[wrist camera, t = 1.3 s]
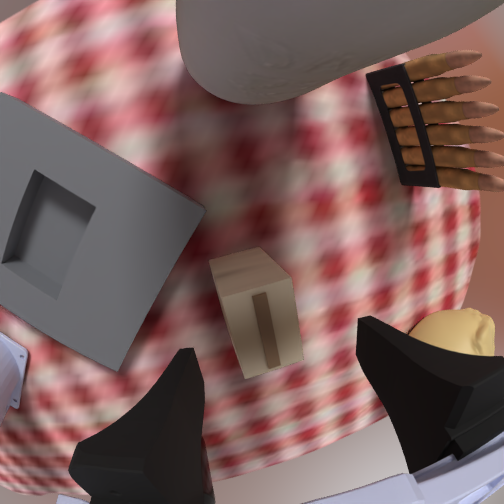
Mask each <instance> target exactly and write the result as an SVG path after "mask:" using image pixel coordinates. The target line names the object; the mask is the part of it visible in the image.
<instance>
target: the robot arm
mask: <svg viewBox="0 0 504 504" xmlns="http://www.w3.org/2000/svg"><path fill="white" fill-rule="evenodd" d="M23 356H24V357H23ZM356 356H357V358H358V361H359V363H360V366H361V368H362V370H363V372H364V374H365V376H366V377H367V379H368V381H369V382H370V384H371V385H372V387H373V389H374V390H375V392H376V394H377V395H378V397H379V399H380V400H381V402H382V403H383V405H384V407H385V409H386V411H387V413H388V415H389V417H390V419H391V422H392V424H393V426H394V429H395V431H396V434H397V436H398V439H399V442H400V444H401V447H402V450H403V453H404V456H405V459H406V463H407V466H408V470H409V474H404V473H401V474H398V475H394V476H391V477H388V478H385V479H383V480H380V481H377V482H374V483H371V484H368V485H365V486H362V487H359V488H356V489H353V490H349V491H346V492H342V493H339V494H335V495H331V496H327V497H324V498H319V499H315V500H312V501H309V502H305V503H302V504H479V503H481V502H482V501H484V500H485V499H486V498H488V497H489V496H490V495H492V494H493V493H494V492H496V491H497V490H498V489H499V488H501V487H502V486H503V485H504V358H503V356H480V355H471V354H465V353H459V352H455V351H450V350H446V349H443V348H440V347H437V346H434V345H431V344H428V343H425V342H423V341H420V340H418V339H416V338H414V337H411V336H409V335H407V334H405V333H403V332H401V331H399V330H397V329H395V328H393V327H392V326H390V325H388V324H386V323H384V322H382V321H380V320H378V319H376V318H374V317H372V316H366V317H362V318H358V326H357V344H356ZM27 359H28V351H27V349H25V348H24V347H22V346H21V345H19V344H18V343H16V342H15V341H13V340H12V339H10V338H9V337H7V336H6V335H4V334H3V333H1V332H0V425H1V423H2V421H3V419H4V417H5V415H6V413H7V411H8V409H9V407H10V406H12V407H14V408H16V409H18V408H19V405H20V398H21V391H22V385H23V379H24V374H25V369H26V364H27ZM204 404H205V392H204V380H203V377H202V374H201V371H200V367H199V364H198V361H197V358H196V354H195V351H194V348H193V347H192V348H184V349H179V351H178V352H177V353H176V355H175V356H174V358H173V359H172V361H171V362H170V364H169V365H168V367H167V368H166V370H165V371H164V372H163V374H162V375H161V376H160V378H159V379H158V380H157V382H156V383H155V384H154V385H153V387H152V388H151V389H150V390H149V392H148V393H147V394H146V395H145V396H144V397H143V398H142V399H141V400H140V401H139V402H138V403H137V404H136V405H135V406H134V407H133V408H132V409H131V410H129V411H128V412H127V413H126V414H125V415H123V416H122V417H121V418H120V419H118V420H117V421H116V422H114V423H113V424H111V425H110V426H108V427H107V428H105V429H104V430H102V431H100V432H99V433H97V434H95V435H93V436H91V437H89V438H87V439H85V440H83V441H81V442H79V443H78V444H77V446H76V449H75V451H74V454H73V457H72V460H71V463H70V465H69V469H68V471H69V474H70V476H71V477H72V478H73V480H74V481H75V482H76V483H77V484H78V485H79V486H80V487H82V488H83V489H84V490H85V491H86V492H87V493H88V494H89V495H90V496H92V497H91V501H90V503H89V502H87V501H85V500H82V499H79V498H75V497H70V496H66V495H63V494H59V495H58V499H57V502H56V504H204V497H203V487H202V473H201V435H202V425H203V415H204Z"/></svg>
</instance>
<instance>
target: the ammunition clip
mask: <svg viewBox="0 0 504 504" xmlns="http://www.w3.org/2000/svg"><path fill="white" fill-rule="evenodd" d="M481 57H482V53H480V52H477V51H472V50H460V51H453V52H449V53H442V54H431V55H427V56H424V57H421V58H418V59H414V60H411V61H408V62H405V63H402V64H399V65H395V66H391V67H388V68H384V69H380V70H377V71H374V72H370V73H367V74H366V77H367V79H368V82H369V84H370V87H371V90H372V92H373V95H374V97H375V100H376V103H377V106H378V108H379V111H380V114H381V117H382V120H383V123H384V126H385V129H386V132H387V135H388V139H389V142H390V145H391V149H392V152H393V155H394V159H395V163H396V166H397V170H398V174H399V178H400V182H401V184H402V185H409V186H422V187H434V188H440V187H441V186H442V187H449V188H455V189H462V190H484V191H492V192H501V191H504V180H503V179H501V178H498V177H495V176H492V175H487V174H482V173H478V172H473V171H471V170H468V169H463V168H467V167H486V168H492V167H500V166H504V156H502V155H499V154H497V153H493V152H489V151H481V150H475V149H469V148H465V147H461V146H444V145H463V144H468V143H488V142H494V141H498V140H501V139H502V138H504V133H503V132H501V131H499V130H496V129H493V128H489V127H481V126H465V125H460V124H439V125H438V123H450V122H457V121H459V120H464V119H471V118H481V117H486V116H489V115H492V114H494V113H496V112H497V111H499V108H498V107H497V106H495V105H493V104H490V103H485V102H477V101H470V102H455V101H441V102H434V103H432V102H431V101H434V100H441V99H447V98H450V97H452V96H454V95H460V94H463V93H470V92H474V91H478V90H480V89H482V88H485V87H487V86H488V85H490V84H491V80H490V79H488V78H485V77H479V76H460V77H450V78H445V77H440V78H434V79H429V80H425V81H424V79H425V78H429V77H433V76H438V75H441V74H443V73H444V72H446V71H450V70H453V69H456V68H460V67H464V66H467V65H469V64H471V63H473V62H475V61H477V60H478V59H480V58H481ZM411 82H414V83H412V84H411ZM398 85H400V87H396V88H395V86H398ZM418 103H422V104H420V105H419V104H418ZM405 105H408V106H407V107H401V106H405ZM425 124H428V125H425ZM413 125H414V126H413ZM408 126H410V127H408ZM414 145H420V146H414ZM430 145H434V146H430ZM453 167H455V168H453Z"/></svg>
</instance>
